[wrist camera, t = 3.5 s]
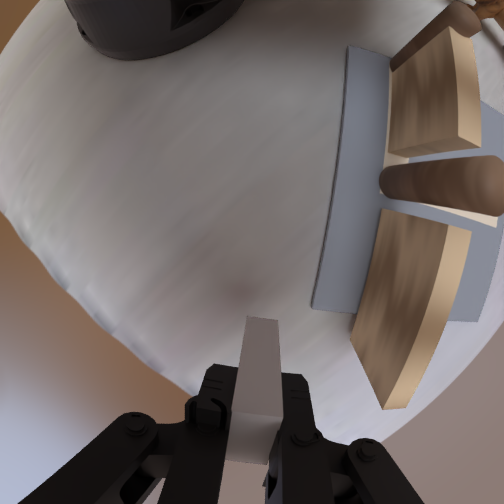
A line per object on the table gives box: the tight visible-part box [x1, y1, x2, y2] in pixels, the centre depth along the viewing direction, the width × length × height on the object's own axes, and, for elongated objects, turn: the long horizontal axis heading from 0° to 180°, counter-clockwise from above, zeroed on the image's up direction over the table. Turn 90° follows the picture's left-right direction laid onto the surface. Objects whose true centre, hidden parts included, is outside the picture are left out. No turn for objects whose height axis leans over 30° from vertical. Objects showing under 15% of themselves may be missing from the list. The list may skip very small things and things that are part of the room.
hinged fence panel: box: [350, 208, 472, 410], centre depth 15 cm, size 10×2×8 cm, turn 172°
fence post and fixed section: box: [379, 1, 504, 217], centre depth 11 cm, size 12×2×11 cm, turn 172°
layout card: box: [311, 45, 504, 322], centre depth 17 cm, size 20×18×1 cm
